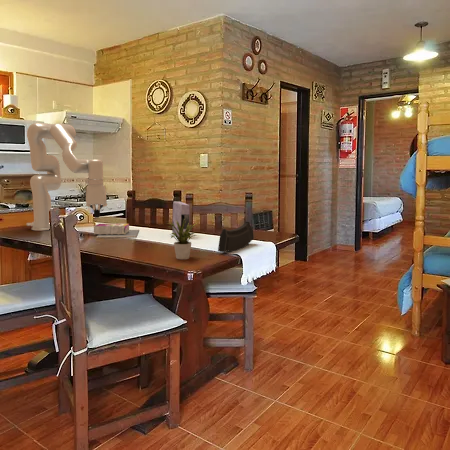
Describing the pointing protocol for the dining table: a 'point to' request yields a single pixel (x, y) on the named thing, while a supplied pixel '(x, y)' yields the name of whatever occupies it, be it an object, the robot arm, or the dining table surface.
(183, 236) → the house plant
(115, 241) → the dining table surface
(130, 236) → the mat
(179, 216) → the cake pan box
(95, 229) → the candy bar box
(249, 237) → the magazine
